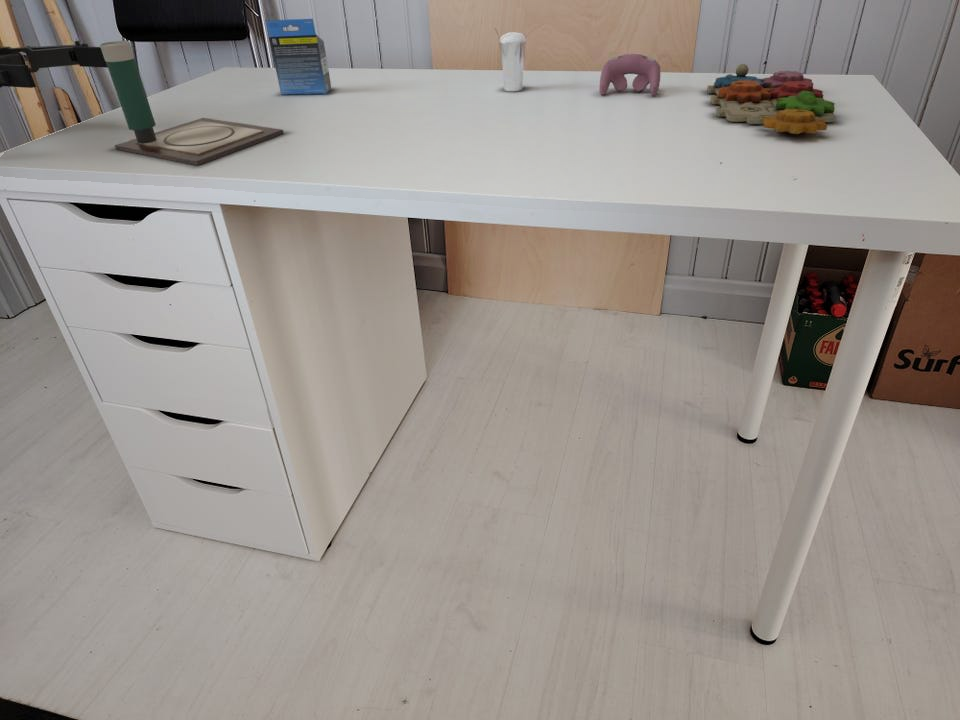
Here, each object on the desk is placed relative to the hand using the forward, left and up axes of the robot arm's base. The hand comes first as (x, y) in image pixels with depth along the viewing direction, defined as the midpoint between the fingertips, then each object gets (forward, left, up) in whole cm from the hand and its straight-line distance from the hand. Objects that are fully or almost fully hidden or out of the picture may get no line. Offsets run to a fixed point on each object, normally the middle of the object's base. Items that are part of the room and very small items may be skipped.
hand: (72, 66), depth 92 cm
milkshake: (+42, +52, -11) cm, 68 cm away
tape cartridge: (+7, +37, -11) cm, 39 cm away
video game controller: (+62, +57, -11) cm, 85 cm away
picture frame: (+14, +7, -11) cm, 19 cm away
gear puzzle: (+86, +53, -11) cm, 101 cm away
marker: (+9, +2, -10) cm, 13 cm away
